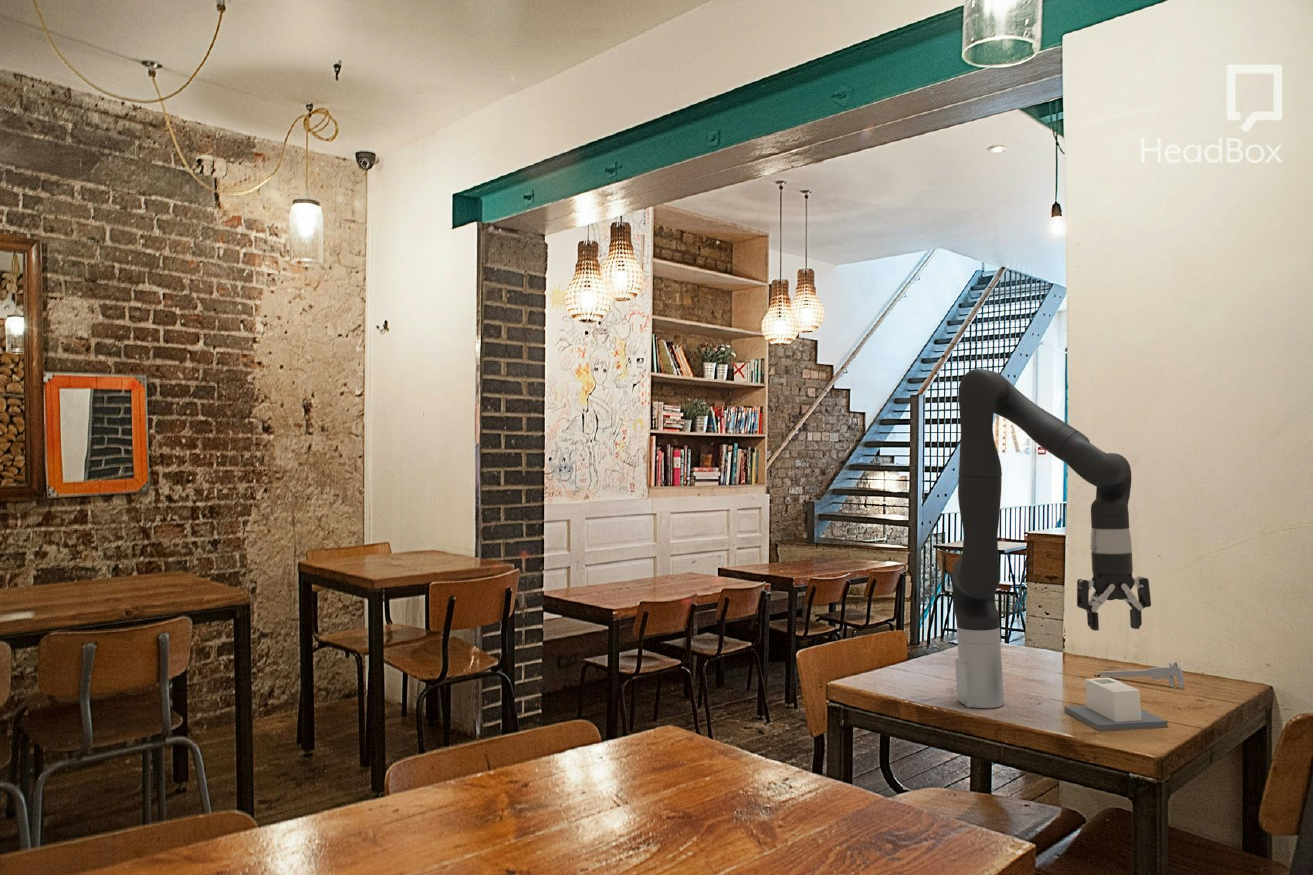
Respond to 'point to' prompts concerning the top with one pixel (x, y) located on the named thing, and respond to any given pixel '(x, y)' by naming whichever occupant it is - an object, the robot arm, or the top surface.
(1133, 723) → the pin plate
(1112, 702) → the socket block
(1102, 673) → the caliper
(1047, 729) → the top surface
